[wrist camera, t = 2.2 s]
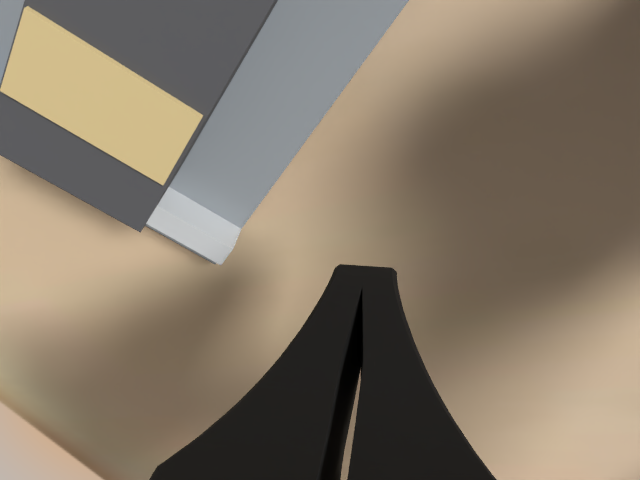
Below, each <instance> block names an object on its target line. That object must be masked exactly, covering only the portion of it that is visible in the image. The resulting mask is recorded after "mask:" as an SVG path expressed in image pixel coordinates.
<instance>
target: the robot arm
mask: <svg viewBox="0 0 640 480" xmlns="http://www.w3.org/2000/svg"><path fill="white" fill-rule="evenodd" d="M360 369H361V384H360V392H359V400H358V408H357V416H356V423H355V431H354V438H353V445H352V452H351V459H350V466H349V473H348V479H347V480H496V479H495V477H494V476H493V475H492V474H491V472H490V471H489V470H488V468H487V467H486V466H485V464H484V463H483V462H482V460H481V459H480V458H479V456H478V455H477V454H476V452H475V451H474V449H473V448H472V446H471V445H470V443H469V442H468V440H467V439H466V437H465V436H464V434H463V433H462V431H461V430H460V428H459V427H458V425H457V424H456V422H455V421H454V419H453V418H452V416H451V414H450V413H449V411H448V409H447V408H446V406H445V404H444V403H443V401H442V399H441V397H440V395H439V393H438V392H437V390H436V388H435V386H434V384H433V382H432V380H431V378H430V376H429V374H428V372H427V370H426V368H425V366H424V363H423V361H422V359H421V357H420V354H419V352H418V350H417V347H416V345H415V342H414V340H413V337H412V334H411V331H410V329H409V326H408V323H407V320H406V317H405V314H404V311H403V307H402V303H401V299H400V295H399V290H398V285H397V272H396V271H395V270H394V269H393V268H387V267H372V266H356V265H341V264H340V265H338V266H337V267H336V268H335V269H334V272H333V274H332V277H331V279H330V281H329V283H328V285H327V287H326V289H325V291H324V293H323V294H322V296H321V298H320V300H319V301H318V303H317V305H316V306H315V308H314V310H313V311H312V313H311V314H310V316H309V317H308V319H307V321H306V322H305V324H304V325H303V327H302V328H301V330H300V331H299V332H298V334H297V335H296V336H295V338H294V339H293V340H292V342H291V343H290V344H289V346H288V347H287V349H286V350H285V351H284V352H283V354H282V355H281V356H280V357H279V359H278V360H277V361H276V362H275V364H274V365H273V366H272V367H271V368H270V369H269V370H268V372H267V373H266V374H265V375H264V376H263V377H262V378H261V379H260V381H259V382H258V383H257V384H256V385H255V386H254V387H253V388H252V389H251V390H250V391H249V392H248V393H247V394H246V395H245V396H244V397H243V398H242V399H241V400H240V401H239V402H238V403H237V404H236V405H235V406H234V407H232V408H231V409H230V410H229V411H228V412H227V413H226V414H225V415H223V416H222V417H221V418H220V419H219V420H218V421H216V422H215V423H214V424H213V425H212V426H211V427H209V428H208V429H207V430H206V431H205V432H203V433H202V434H201V435H200V436H199V437H197V438H196V439H195V440H193V441H192V442H191V443H189V444H188V445H187V446H185V447H184V448H182V449H181V450H180V451H178V452H177V453H176V454H174V455H173V456H171V457H170V458H169V459H167V460H166V461H165V462H163V463H162V464H160V465H159V466H158V467H157V468H156V470H155V471H154V473H153V474H152V476H151V478H150V479H149V480H340V477H341V468H342V461H343V455H344V449H345V444H346V439H347V434H348V429H349V424H350V419H351V414H352V409H353V404H354V399H355V394H356V389H357V384H358V379H359V374H360Z"/></svg>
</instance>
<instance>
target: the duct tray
mask: <svg viewBox="0 0 640 480" xmlns="http://www.w3.org/2000/svg"><path fill="white" fill-rule="evenodd" d="M24 1H25V0H0V83H1V79H2V76H3V73H4V69H5V66H6V62H7V59H8V56H9V52H10V49H11V45H12V42H13V38H14V35H15V32H16V28H17V25H18V21H19V18H20V14H21V11H22V8H23V4H24ZM408 1H409V0H278V1H277V3H276V5H275V7H274V8H273V10H272V12H271V13H270V15H269V17H268V19H267V20H266V22H265V24H264V25H263V27H262V29H261V31H260V32H259V34H258V36H257V37H256V39H255V41H254V43H253V44H252V46H251V48H250V49H249V51H248V53H247V55H246V56H245V58H244V60H243V61H242V63H241V65H240V67H239V68H238V70H237V72H236V73H235V75H234V77H233V79H232V80H231V82H230V84H229V85H228V87H227V89H226V91H225V92H224V94H223V96H222V97H221V99H220V101H219V103H218V104H217V106H216V108H215V109H214V111H213V113H212V115H211V116H210V118H209V120H208V121H207V123H206V125H205V127H204V128H203V130H202V132H201V133H200V135H199V137H198V139H197V140H196V142H195V144H194V145H193V147H192V149H191V151H190V152H189V154H188V156H187V157H186V159H185V161H184V163H183V164H182V166H181V168H180V170H179V171H178V173H177V175H176V176H175V178H174V179H173V181H172V183H171V184H170V186H169V187H168V189H167V191H166V192H165V194H164V195H163V197H162V199H161V200H160V202H159V203H158V205H157V207H156V208H155V210H154V211H153V213H152V215H151V216H150V218H149V219H148V221H147V223H146V224H145V226H147V227H149V228H151V229H152V230H154V231H156V232H158V233H160V234H161V235H163V236H165V237H167V238H168V239H170V240H172V241H174V242H176V243H177V244H179V245H181V246H183V247H185V248H186V249H188V250H190V251H192V252H194V253H195V254H197V255H199V256H201V257H203V258H204V259H206V260H208V261H210V262H212V263H213V264H216V263H217V264H219V265H222V263H223V262H224V261H225V259H226V258H227V257H228V255H229V254H230V253H231V251H232V250H233V248H234V246H235V243H236V241H237V238H238V236H239V233H240V231H241V229H242V227H243V226H244V225H245V223H246V222H247V220H248V219H249V218H250V216H251V215H252V214H253V212H254V211H255V210H256V208H257V207H258V205H259V204H260V203H261V201H262V200H263V199H264V197H265V196H266V195H267V193H268V192H269V190H270V189H271V188H272V186H273V185H274V184H275V182H276V181H277V180H278V178H279V177H280V175H281V174H282V173H283V171H284V170H285V169H286V167H287V166H288V165H289V163H290V162H291V160H292V159H293V158H294V156H295V155H296V154H297V152H298V151H299V150H300V148H301V147H302V145H303V144H304V143H305V141H306V140H307V139H308V137H309V136H310V134H311V133H312V132H313V130H314V129H315V128H316V126H317V125H318V124H319V122H320V121H321V119H322V118H323V117H324V115H325V114H326V113H327V111H328V110H329V109H330V107H331V106H332V104H333V103H334V102H335V100H336V99H337V98H338V96H339V95H340V94H341V92H342V91H343V89H344V88H345V87H346V85H347V84H348V83H349V81H350V80H351V79H352V77H353V76H354V74H355V73H356V72H357V70H358V69H359V68H360V66H361V65H362V64H363V62H364V61H365V59H366V58H367V57H368V55H369V54H370V53H371V51H372V50H373V49H374V47H375V46H376V44H377V43H378V42H379V40H380V39H381V38H382V36H383V35H384V34H385V32H386V31H387V29H388V28H389V27H390V25H391V24H392V23H393V21H394V20H395V18H396V17H397V16H398V14H399V13H400V12H401V10H402V9H403V8H404V6H405V5H406V3H407V2H408Z"/></svg>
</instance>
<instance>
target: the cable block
mask: <svg viewBox="0 0 640 480" xmlns="http://www.w3.org/2000/svg"><path fill="white" fill-rule="evenodd" d="M277 1H278V0H25V1H24V4H23V8H22V11H21V14H20V18H19V21H18V25H17V28H16V32H15V35H14V38H13V42H12V45H11V49H10V52H9V56H8V59H7V62H6V66H5V69H4V73H3V76H2V79H1V83H0V155H1V156H3V157H5V158H7V159H9V160H10V161H12V162H14V163H16V164H18V165H19V166H21V167H23V168H25V169H27V170H28V171H30V172H32V173H34V174H36V175H37V176H39V177H41V178H43V179H45V180H47V181H48V182H50V183H52V184H54V185H56V186H57V187H59V188H61V189H63V190H65V191H66V192H68V193H70V194H72V195H74V196H75V197H77V198H79V199H81V200H83V201H84V202H86V203H88V204H90V205H92V206H94V207H95V208H97V209H99V210H101V211H103V212H104V213H106V214H108V215H110V216H112V217H113V218H115V219H117V220H119V221H121V222H122V223H124V224H126V225H128V226H130V227H131V228H133V229H135V230H137V231H139V232H141V231H142V229H143V227H144V226H145V224H146V223H147V221H148V219H149V218H150V216H151V215H152V213H153V211H154V210H155V208H156V207H157V205H158V203H159V202H160V200H161V199H162V197H163V195H164V194H165V192H166V191H167V189H168V187H169V186H170V184H171V183H172V181H173V179H174V178H175V176H176V175H177V173H178V171H179V170H180V168H181V166H182V164H183V163H184V161H185V159H186V157H187V156H188V154H189V152H190V151H191V149H192V147H193V145H194V144H195V142H196V140H197V139H198V137H199V135H200V133H201V132H202V130H203V128H204V127H205V125H206V123H207V121H208V120H209V118H210V116H211V115H212V113H213V111H214V109H215V108H216V106H217V104H218V103H219V101H220V99H221V97H222V96H223V94H224V92H225V91H226V89H227V87H228V85H229V84H230V82H231V80H232V79H233V77H234V75H235V73H236V72H237V70H238V68H239V67H240V65H241V63H242V61H243V60H244V58H245V56H246V55H247V53H248V51H249V49H250V48H251V46H252V44H253V43H254V41H255V39H256V37H257V36H258V34H259V32H260V31H261V29H262V27H263V25H264V24H265V22H266V20H267V19H268V17H269V15H270V13H271V12H272V10H273V8H274V7H275V5H276V3H277Z"/></svg>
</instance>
